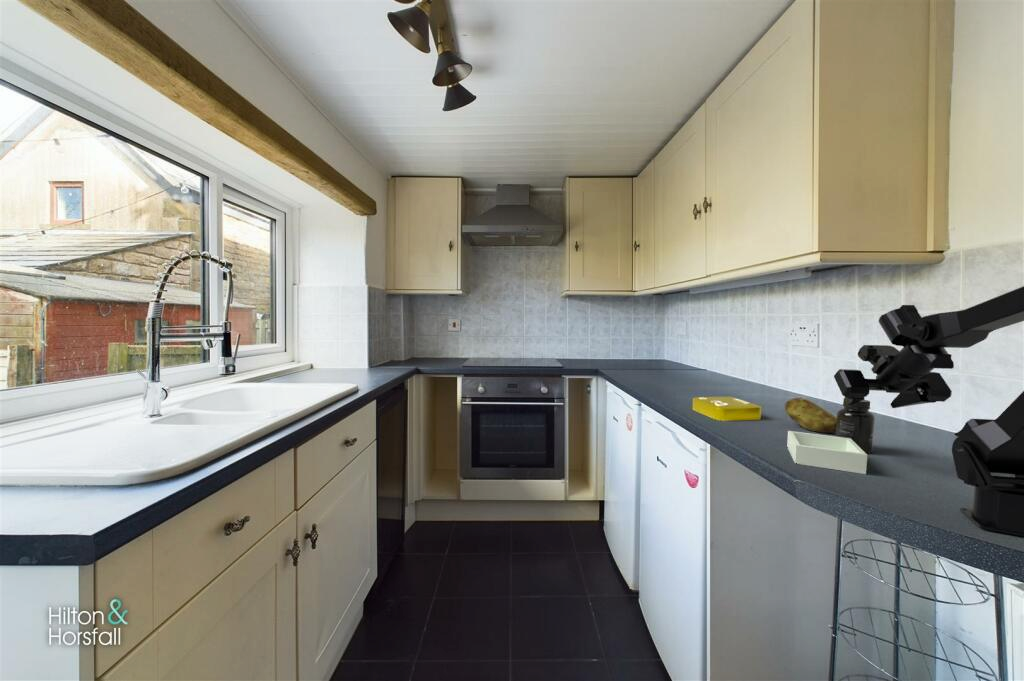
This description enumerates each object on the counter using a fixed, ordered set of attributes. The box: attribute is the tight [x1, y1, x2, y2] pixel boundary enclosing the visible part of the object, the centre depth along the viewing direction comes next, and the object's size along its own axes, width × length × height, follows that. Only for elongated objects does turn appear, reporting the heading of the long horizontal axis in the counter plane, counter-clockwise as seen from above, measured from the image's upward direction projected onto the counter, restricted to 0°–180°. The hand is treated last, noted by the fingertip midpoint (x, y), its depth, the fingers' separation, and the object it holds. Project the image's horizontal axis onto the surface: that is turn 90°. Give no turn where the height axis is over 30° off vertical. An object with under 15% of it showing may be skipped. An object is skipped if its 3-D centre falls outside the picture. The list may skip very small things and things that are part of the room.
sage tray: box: [786, 430, 868, 475], centre depth 88 cm, size 12×12×4 cm
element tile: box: [692, 396, 762, 422], centre depth 126 cm, size 15×15×5 cm
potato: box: [784, 397, 837, 434], centre depth 111 cm, size 8×13×8 cm, turn 8°
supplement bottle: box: [835, 397, 876, 454], centre depth 94 cm, size 7×7×12 cm
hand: (868, 405), depth 90 cm, fingers open, 9 cm apart
